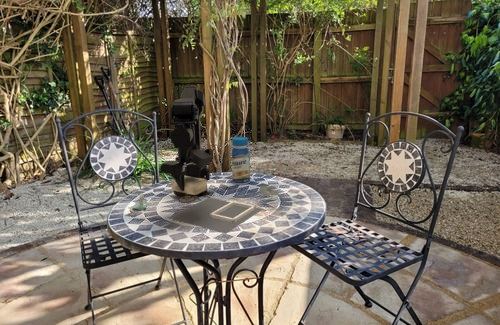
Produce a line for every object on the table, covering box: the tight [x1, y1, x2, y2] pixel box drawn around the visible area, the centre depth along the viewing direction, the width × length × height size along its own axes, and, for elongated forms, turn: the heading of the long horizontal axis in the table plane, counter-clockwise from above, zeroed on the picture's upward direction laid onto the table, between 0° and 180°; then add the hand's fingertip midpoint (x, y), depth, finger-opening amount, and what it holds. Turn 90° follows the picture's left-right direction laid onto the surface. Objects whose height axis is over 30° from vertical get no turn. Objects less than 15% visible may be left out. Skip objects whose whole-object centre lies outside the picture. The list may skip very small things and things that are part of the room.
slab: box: [170, 175, 208, 195], centre depth 112 cm, size 10×6×4 cm, turn 58°
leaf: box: [259, 185, 279, 198], centre depth 134 cm, size 20×8×1 cm, turn 2°
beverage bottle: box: [230, 136, 251, 186], centre depth 150 cm, size 8×8×20 cm
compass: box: [173, 191, 199, 204], centre depth 130 cm, size 8×8×7 cm
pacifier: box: [129, 192, 149, 213], centre depth 123 cm, size 7×6×6 cm
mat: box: [167, 197, 264, 234], centre depth 117 cm, size 24×22×2 cm
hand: (189, 188), depth 112 cm, fingers closed on slab, 6 cm apart
